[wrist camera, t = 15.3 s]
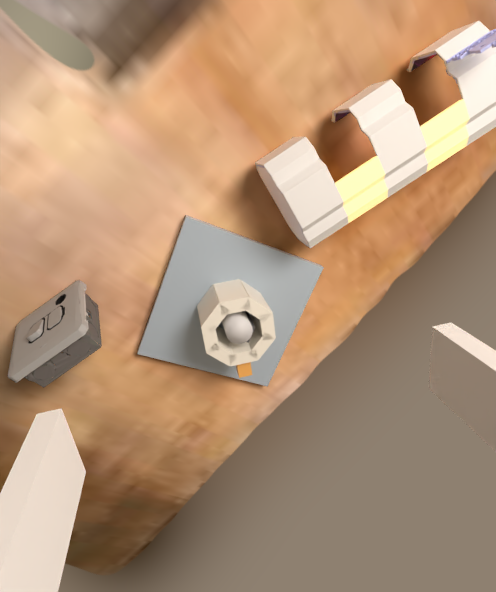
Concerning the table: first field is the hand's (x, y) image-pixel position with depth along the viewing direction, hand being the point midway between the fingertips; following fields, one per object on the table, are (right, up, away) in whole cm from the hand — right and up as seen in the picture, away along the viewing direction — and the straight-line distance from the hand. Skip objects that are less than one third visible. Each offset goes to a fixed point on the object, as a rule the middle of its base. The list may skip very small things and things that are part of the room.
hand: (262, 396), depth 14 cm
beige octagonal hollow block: (-3, +1, +36) cm, 36 cm away
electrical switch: (-22, +1, +33) cm, 40 cm away
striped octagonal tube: (+13, +22, +33) cm, 41 cm away
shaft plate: (-3, +2, +37) cm, 37 cm away
